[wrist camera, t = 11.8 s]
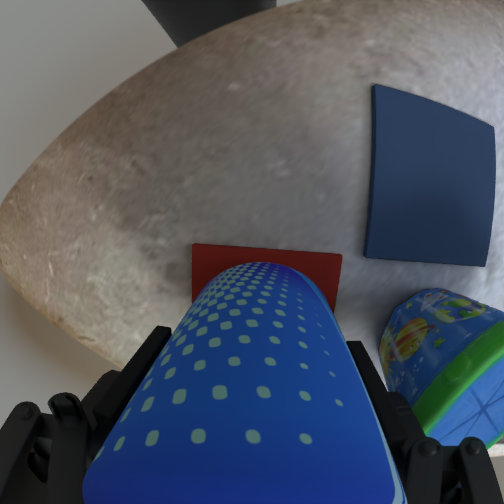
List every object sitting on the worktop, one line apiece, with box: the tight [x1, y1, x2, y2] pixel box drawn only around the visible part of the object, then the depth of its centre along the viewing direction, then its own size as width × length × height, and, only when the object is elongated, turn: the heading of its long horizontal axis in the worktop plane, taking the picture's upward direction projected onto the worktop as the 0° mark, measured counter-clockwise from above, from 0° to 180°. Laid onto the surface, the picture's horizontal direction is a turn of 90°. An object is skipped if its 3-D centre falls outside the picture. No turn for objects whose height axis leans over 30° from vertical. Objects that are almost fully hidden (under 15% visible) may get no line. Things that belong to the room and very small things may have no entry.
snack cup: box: [379, 288, 504, 450], centre depth 12 cm, size 16×10×10 cm
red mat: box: [192, 243, 342, 314], centre depth 17 cm, size 9×9×1 cm
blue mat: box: [363, 84, 496, 267], centre depth 15 cm, size 11×11×1 cm
